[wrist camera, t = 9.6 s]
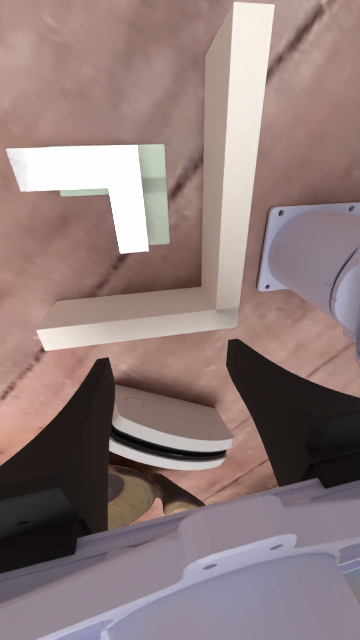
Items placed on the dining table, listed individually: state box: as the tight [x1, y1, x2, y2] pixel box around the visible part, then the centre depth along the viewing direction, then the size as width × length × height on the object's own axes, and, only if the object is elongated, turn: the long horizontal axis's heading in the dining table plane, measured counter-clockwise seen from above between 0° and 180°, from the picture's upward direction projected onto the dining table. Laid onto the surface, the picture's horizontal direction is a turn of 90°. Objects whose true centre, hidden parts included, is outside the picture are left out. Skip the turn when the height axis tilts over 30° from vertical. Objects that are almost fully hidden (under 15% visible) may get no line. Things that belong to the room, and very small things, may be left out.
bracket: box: [6, 145, 149, 253], centre depth 16 cm, size 7×6×4 cm
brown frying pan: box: [108, 465, 206, 530], centre depth 35 cm, size 22×30×8 cm
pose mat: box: [48, 144, 170, 245], centre depth 18 cm, size 8×7×1 cm
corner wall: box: [36, 2, 275, 351], centre depth 16 cm, size 16×18×5 cm
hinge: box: [109, 384, 233, 470], centre depth 27 cm, size 17×5×10 cm, turn 61°
